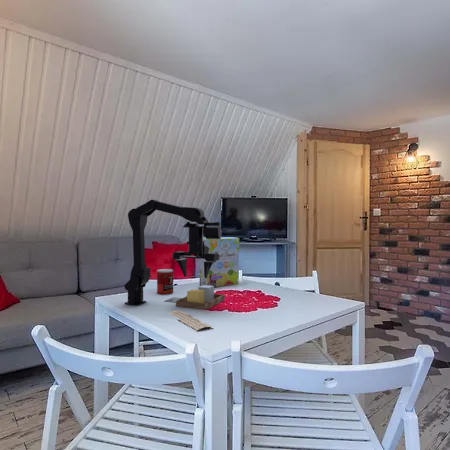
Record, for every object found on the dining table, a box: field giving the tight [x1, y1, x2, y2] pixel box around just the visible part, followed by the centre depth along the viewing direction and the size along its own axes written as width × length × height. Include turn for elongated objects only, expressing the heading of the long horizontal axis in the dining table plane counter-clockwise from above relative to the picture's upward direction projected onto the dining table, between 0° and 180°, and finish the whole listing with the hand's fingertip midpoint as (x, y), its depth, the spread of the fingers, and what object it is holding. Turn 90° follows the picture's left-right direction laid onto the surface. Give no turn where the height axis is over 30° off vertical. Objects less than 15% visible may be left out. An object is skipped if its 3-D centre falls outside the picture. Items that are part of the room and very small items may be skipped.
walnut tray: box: [175, 293, 226, 311], centre depth 147 cm, size 18×14×3 cm
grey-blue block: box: [197, 285, 215, 302], centre depth 151 cm, size 5×5×6 cm
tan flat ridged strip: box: [168, 309, 212, 332], centre depth 123 cm, size 24×7×2 cm, turn 32°
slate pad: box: [163, 296, 182, 304], centre depth 151 cm, size 8×8×1 cm
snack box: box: [199, 236, 240, 288], centre depth 189 cm, size 22×9×26 cm, turn 132°
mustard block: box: [186, 288, 204, 303], centre depth 142 cm, size 5×5×6 cm
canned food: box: [156, 268, 174, 295], centre depth 169 cm, size 8×8×11 cm
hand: (195, 277), depth 142 cm, fingers open, 9 cm apart
